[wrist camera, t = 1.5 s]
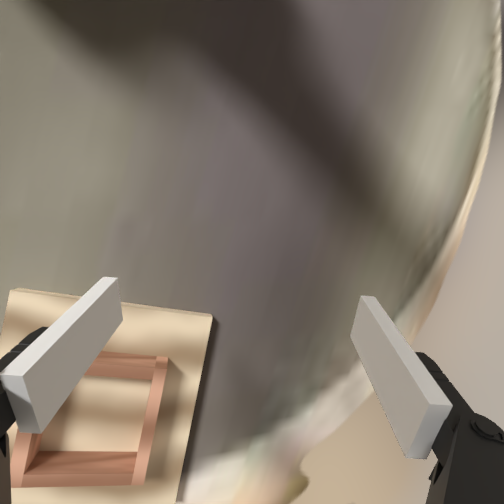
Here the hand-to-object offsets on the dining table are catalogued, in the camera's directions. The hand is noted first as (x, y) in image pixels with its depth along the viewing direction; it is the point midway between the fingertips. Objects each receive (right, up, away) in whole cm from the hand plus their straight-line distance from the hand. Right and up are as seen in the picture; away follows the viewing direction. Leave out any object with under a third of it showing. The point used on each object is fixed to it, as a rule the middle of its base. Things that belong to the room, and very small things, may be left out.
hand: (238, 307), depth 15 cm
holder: (-16, -13, +16) cm, 26 cm away
